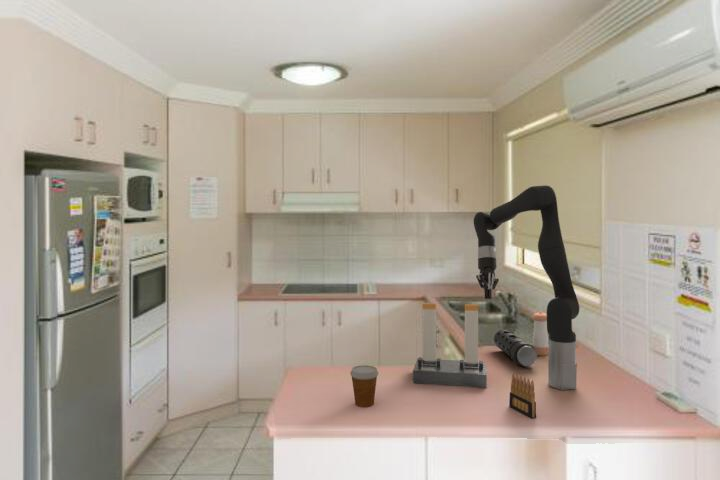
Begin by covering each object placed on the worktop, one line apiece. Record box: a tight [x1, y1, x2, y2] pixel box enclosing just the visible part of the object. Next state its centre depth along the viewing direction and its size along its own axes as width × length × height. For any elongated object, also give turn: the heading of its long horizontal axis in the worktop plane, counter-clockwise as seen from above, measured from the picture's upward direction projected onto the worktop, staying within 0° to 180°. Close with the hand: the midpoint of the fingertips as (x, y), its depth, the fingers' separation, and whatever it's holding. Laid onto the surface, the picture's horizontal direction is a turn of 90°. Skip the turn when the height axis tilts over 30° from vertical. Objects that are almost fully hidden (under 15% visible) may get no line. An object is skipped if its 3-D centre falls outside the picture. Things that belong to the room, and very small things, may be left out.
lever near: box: [464, 303, 479, 367], centre depth 196 cm, size 2×5×24 cm, turn 78°
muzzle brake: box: [493, 329, 538, 367], centre depth 223 cm, size 10×28×10 cm, turn 4°
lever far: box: [422, 302, 437, 365], centre depth 200 cm, size 2×5×24 cm, turn 77°
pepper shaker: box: [531, 310, 549, 356], centre depth 232 cm, size 7×7×19 cm
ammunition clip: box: [508, 371, 537, 420], centre depth 166 cm, size 11×2×12 cm, turn 23°
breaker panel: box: [412, 356, 488, 389], centre depth 199 cm, size 16×27×7 cm, turn 77°
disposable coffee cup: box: [350, 364, 379, 408], centre depth 174 cm, size 10×10×12 cm
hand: (488, 299), depth 212 cm, fingers closed
